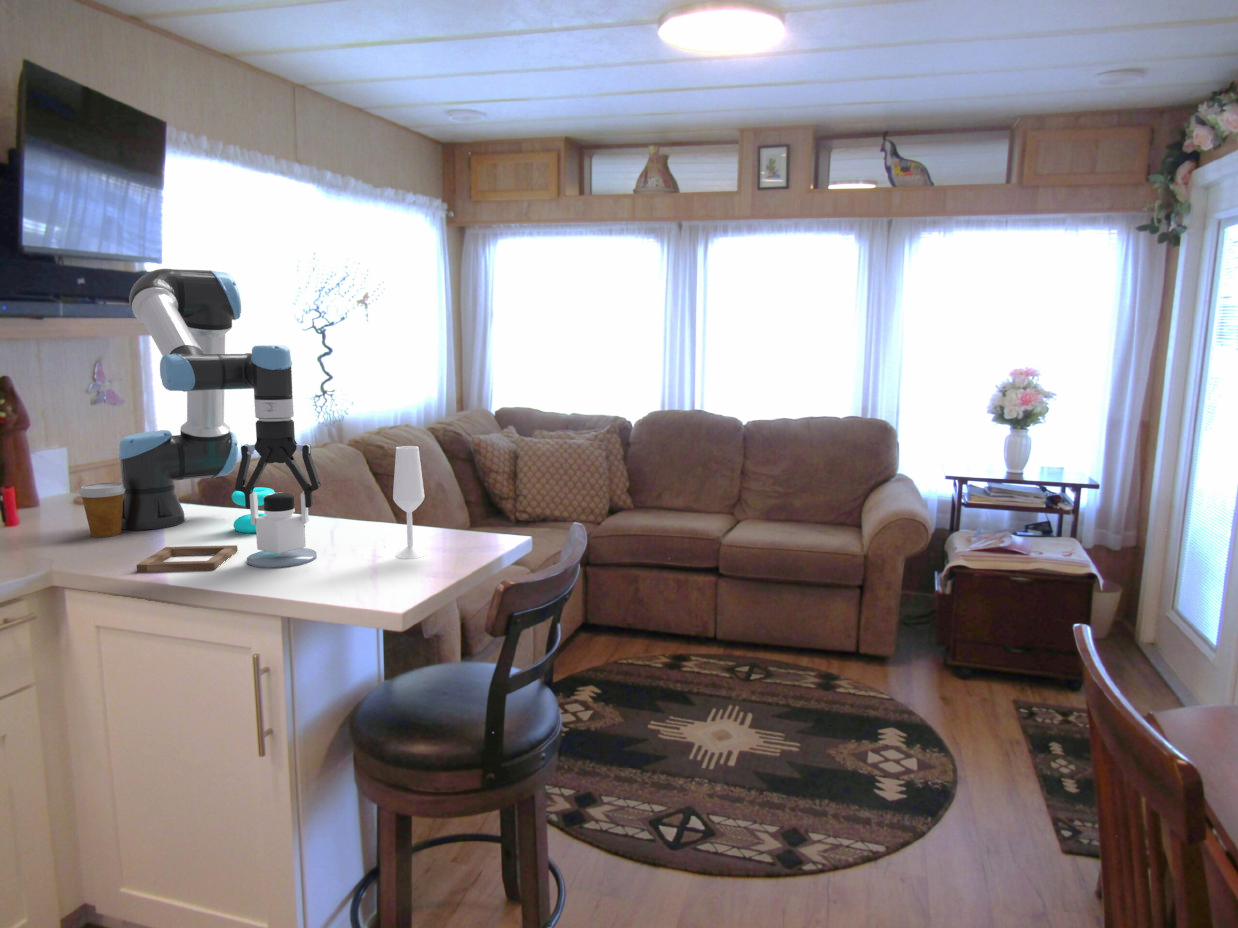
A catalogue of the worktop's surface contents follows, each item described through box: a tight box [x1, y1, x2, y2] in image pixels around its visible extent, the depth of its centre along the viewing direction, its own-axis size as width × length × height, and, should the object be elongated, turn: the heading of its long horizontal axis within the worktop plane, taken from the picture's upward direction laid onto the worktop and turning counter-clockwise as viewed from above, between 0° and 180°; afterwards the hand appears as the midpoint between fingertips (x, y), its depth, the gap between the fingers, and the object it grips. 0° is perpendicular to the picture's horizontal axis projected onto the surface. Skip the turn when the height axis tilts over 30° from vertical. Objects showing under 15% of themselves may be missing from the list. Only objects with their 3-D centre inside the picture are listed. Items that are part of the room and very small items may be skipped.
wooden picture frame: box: [135, 544, 238, 573], centre depth 180 cm, size 15×15×2 cm
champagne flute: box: [392, 445, 427, 560], centre depth 185 cm, size 7×7×24 cm
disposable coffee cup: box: [78, 481, 125, 538], centre depth 203 cm, size 10×10×12 cm
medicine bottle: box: [255, 492, 306, 554], centre depth 181 cm, size 7×7×12 cm
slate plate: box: [246, 547, 318, 568], centre depth 182 cm, size 14×14×1 cm
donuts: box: [231, 486, 276, 534], centre depth 209 cm, size 10×10×10 cm
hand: (280, 522), depth 181 cm, fingers closed on medicine bottle, 10 cm apart
